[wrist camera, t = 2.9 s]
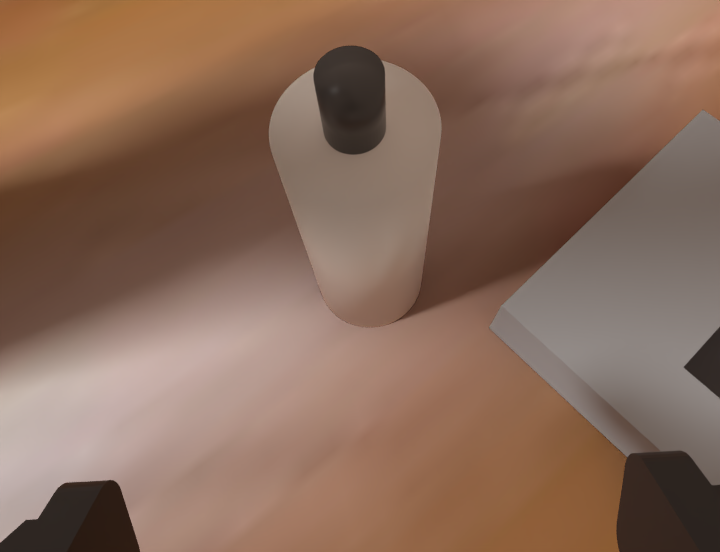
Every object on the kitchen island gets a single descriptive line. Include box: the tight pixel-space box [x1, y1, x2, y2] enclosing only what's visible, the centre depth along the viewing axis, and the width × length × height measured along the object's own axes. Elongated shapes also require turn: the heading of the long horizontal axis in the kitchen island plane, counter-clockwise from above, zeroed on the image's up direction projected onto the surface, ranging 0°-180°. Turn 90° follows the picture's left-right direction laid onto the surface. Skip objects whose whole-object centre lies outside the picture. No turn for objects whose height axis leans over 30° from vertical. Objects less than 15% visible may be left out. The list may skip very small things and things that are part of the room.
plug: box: [269, 46, 442, 327], centre depth 19 cm, size 4×4×13 cm
